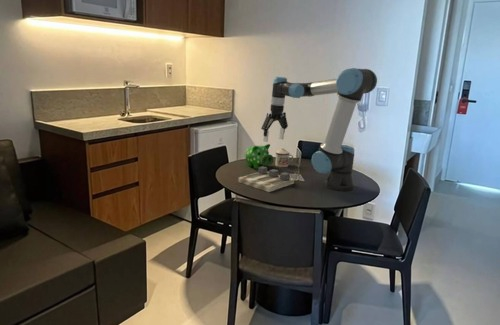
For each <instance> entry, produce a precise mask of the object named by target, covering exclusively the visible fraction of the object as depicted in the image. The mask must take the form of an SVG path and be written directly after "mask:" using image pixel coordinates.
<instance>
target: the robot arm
mask: <svg viewBox="0 0 500 325" xmlns="http://www.w3.org/2000/svg"><path fill="white" fill-rule="evenodd" d="M377 84H378V77H377V75H376V73H375V72H374V71H373V70H371V69H370V68H356V67H355V68H354V67H351V68H347V69H346V68H345V69H344V70H342V71H340V73H339V74H338V76H337V78H332V79H326V80H318V81H311V82H302V83H301V82H288V78H287V77H283V76H275V77H273V83H272V91H271V100H270V101H271V102H270V103H271V104H270V109H269V111H270V113H269V112H267V113H266V115H265V116H266V117H265V119H264V121H263V123H262V126H261V130H262V131H263V142H266V143H268V141H269V133H270V131H269V129H270V128H271V127H272V125H273V124H274V123H275V122H276V121H277V122H278V124H279V126H280V128H279V135H278V136H279V138H278V139H280V140H284V136H285V131H286V129H287V128H288V126H289V125H288V124H289V123H288V120H287V114H286V111H284V108H285V107H284V106H285V100H286V99H285V98H286V97H290V98H293V99H300V98H301V97H302V98H303V97H309V98H311V97H315V96H323V95H331V94H336V95H337V96H338V99H337V103H336V106H335V109H334V112H333V115H332V118H331V122H330V124H329V127H328V131H327V133H326V137H325V139H324V142H322V143H320V145H319V147H318V151H316V152H314V153H313V154H312V156H311V165H312V166H313V168H314V170H315V171H316V172H317V173H319V174H328V176H327V178H326V180H325V186H326V187H327V188H329V189H331V190H335V191H339V192H340V191H343V192H345V191H352V190H353V189H354V188H355V183H354V177H353V168H354V159H355V148H354V147H353V146H348V145H344V144H343V143H344V139H345V138H346V134H347V131H348V128H349V126H350V122H351V120H352V116H353V115H354V114H353V113H354V112H355V108H356V105H357V103H360V102H361V101H362V98H363V97H364V96H363V95H364V94H370V93H371V92H373V91H374V89H376V87H377Z"/></svg>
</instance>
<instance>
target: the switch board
mask: <svg viewBox="0 0 500 325" xmlns="http://www.w3.org/2000/svg"><path fill="white" fill-rule="evenodd" d="M237 183H240V184H243V185H245V186H249V187H253V188H255V189H259V190H261V191H265V192H267V193H270V192H274V191H277V190H279V189H282V188H284V187H285V188H286V187H288V186H291V185H293V184H295V178H291V177H290V178H289V179H288V180H281V179H280V174H278V176H276V177H271V176H269V171H267V173H265V174H261V173H258V172H254V173H250V174H247V175H244V176H239V177H238V182H237Z"/></svg>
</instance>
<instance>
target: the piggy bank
mask: <svg viewBox="0 0 500 325" xmlns="http://www.w3.org/2000/svg"><path fill="white" fill-rule="evenodd" d="M270 146H271V144H270V143H267V144H265V145H252V146H250V147H247V149H246V150H245V152H244V158H245V160H246V165H247V166H248V167H250V168H251V167H253V168H254V169H256V170H258V167H262V166H264V167H267V166H270V165H272V164H273V163H274V156H273V155H272V154H270V152H269V148H270Z"/></svg>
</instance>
